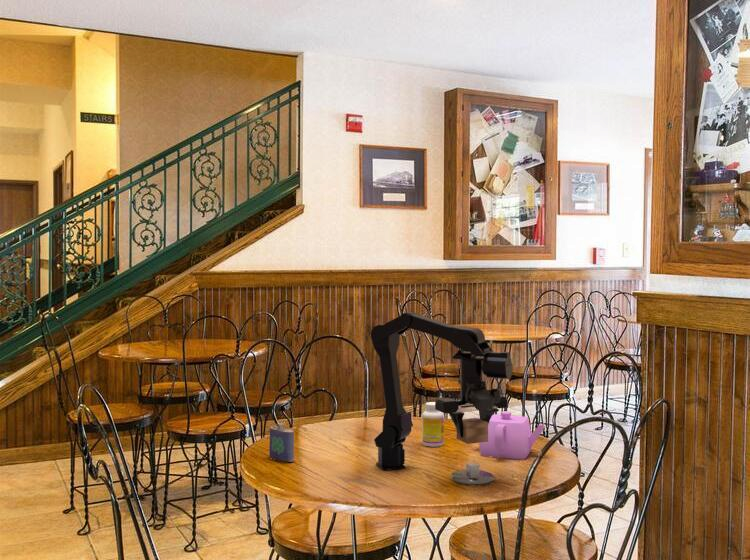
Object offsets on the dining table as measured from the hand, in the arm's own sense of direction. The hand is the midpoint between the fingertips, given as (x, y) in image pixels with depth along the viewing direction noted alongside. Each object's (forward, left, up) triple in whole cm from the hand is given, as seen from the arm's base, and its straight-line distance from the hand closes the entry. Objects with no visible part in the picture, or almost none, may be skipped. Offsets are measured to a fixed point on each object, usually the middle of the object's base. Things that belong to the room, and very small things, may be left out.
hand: (472, 436), depth 190 cm
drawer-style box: (0, 0, -1) cm, 1 cm away
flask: (-43, +35, -12) cm, 56 cm away
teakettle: (+22, +20, -12) cm, 32 cm away
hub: (0, 0, -11) cm, 11 cm away
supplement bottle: (+5, +36, -12) cm, 38 cm away
